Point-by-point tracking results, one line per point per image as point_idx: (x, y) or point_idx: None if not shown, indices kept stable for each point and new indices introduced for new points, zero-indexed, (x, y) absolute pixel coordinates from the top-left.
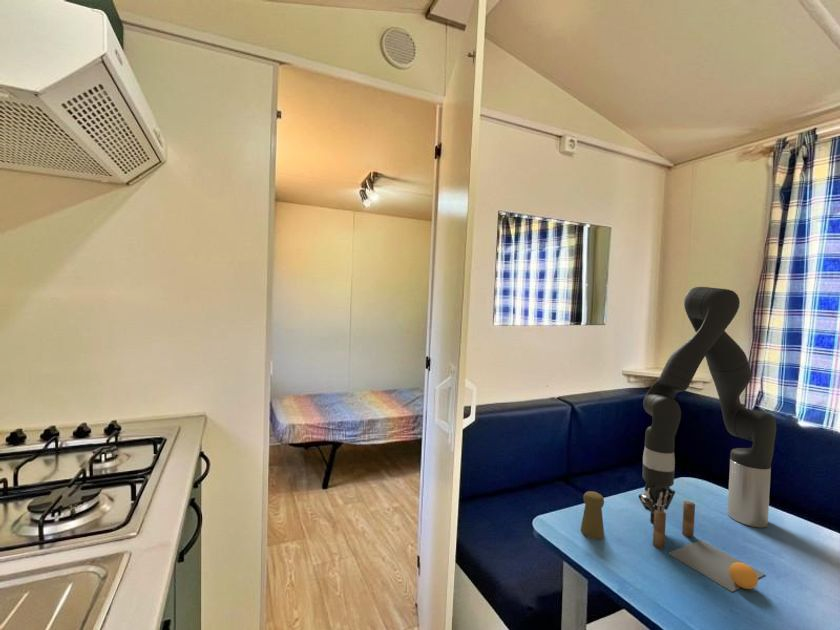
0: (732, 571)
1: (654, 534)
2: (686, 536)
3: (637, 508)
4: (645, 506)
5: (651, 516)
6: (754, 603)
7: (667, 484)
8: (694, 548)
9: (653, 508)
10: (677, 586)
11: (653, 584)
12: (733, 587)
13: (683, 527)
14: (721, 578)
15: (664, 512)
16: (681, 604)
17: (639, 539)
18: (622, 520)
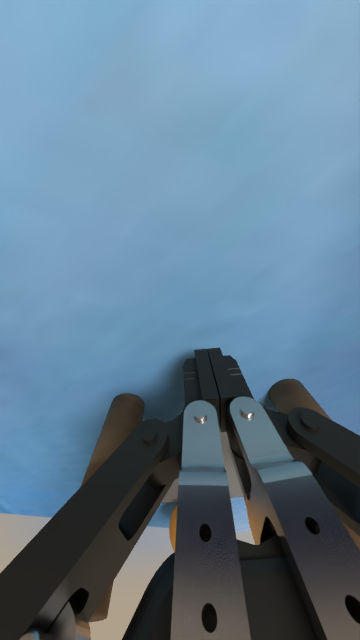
0: (172, 535)
1: (96, 444)
2: (270, 396)
3: (330, 148)
4: (117, 466)
5: (185, 389)
6: (165, 512)
7: None
8: (222, 434)
9: (142, 507)
10: (58, 482)
11: (6, 473)
12: (166, 500)
13: (286, 411)
14: (170, 488)
15: (103, 618)
16: (32, 500)
17: (87, 370)
18: (110, 244)
